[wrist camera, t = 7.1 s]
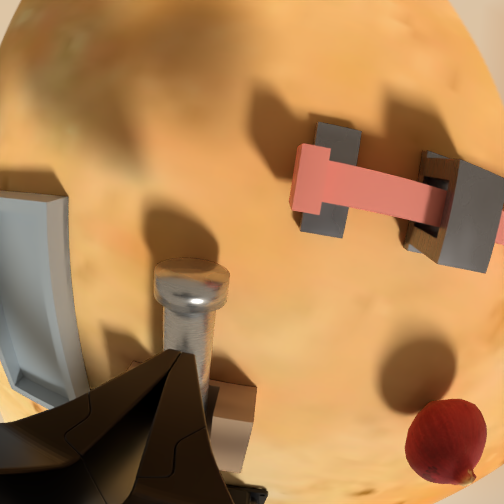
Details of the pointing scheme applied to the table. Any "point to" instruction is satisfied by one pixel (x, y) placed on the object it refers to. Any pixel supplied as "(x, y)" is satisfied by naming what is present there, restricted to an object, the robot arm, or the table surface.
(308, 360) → the table surface
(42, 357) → the tray
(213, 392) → the channel block
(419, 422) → the onion
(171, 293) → the pin
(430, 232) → the keeper guide
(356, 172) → the keeper bar
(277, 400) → the table surface
